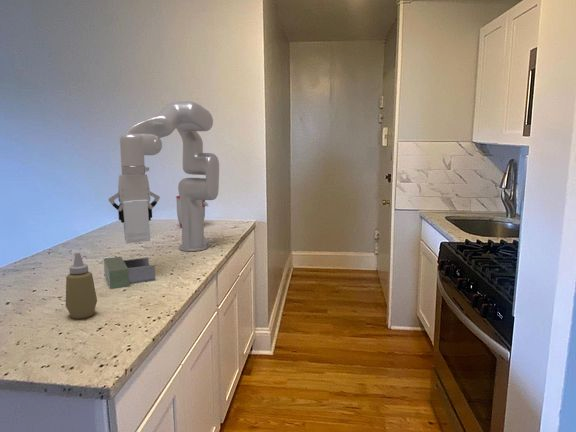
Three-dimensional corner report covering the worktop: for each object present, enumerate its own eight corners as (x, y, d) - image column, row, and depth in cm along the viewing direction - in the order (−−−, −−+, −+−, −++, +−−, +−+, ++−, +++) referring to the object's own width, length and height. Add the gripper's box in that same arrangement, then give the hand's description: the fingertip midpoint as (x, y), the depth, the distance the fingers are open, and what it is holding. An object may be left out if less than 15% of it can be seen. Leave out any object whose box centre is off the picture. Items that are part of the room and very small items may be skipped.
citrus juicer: (206, 230, 238) (205, 192, 235) (173, 229, 239) (172, 192, 235) (211, 224, 254) (210, 189, 250) (180, 223, 254) (179, 189, 250)
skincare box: (148, 238, 161) (146, 197, 158) (150, 241, 156) (148, 199, 153) (123, 240, 157) (121, 198, 155) (125, 244, 152) (123, 200, 149)
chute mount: (147, 269, 168) (146, 253, 167) (156, 282, 154) (156, 265, 153) (104, 274, 162) (103, 258, 161) (110, 288, 147) (109, 271, 146)
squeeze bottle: (73, 310, 129) (68, 249, 126) (102, 309, 130) (97, 249, 127) (61, 321, 121) (56, 257, 118) (92, 320, 122) (87, 256, 119)
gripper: (156, 169, 160) (158, 217, 163) (104, 170, 152) (107, 221, 155) (161, 171, 153) (163, 220, 156) (107, 172, 145) (110, 225, 148)
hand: (135, 220), depth 155 cm, fingers closed on skincare box, 8 cm apart
